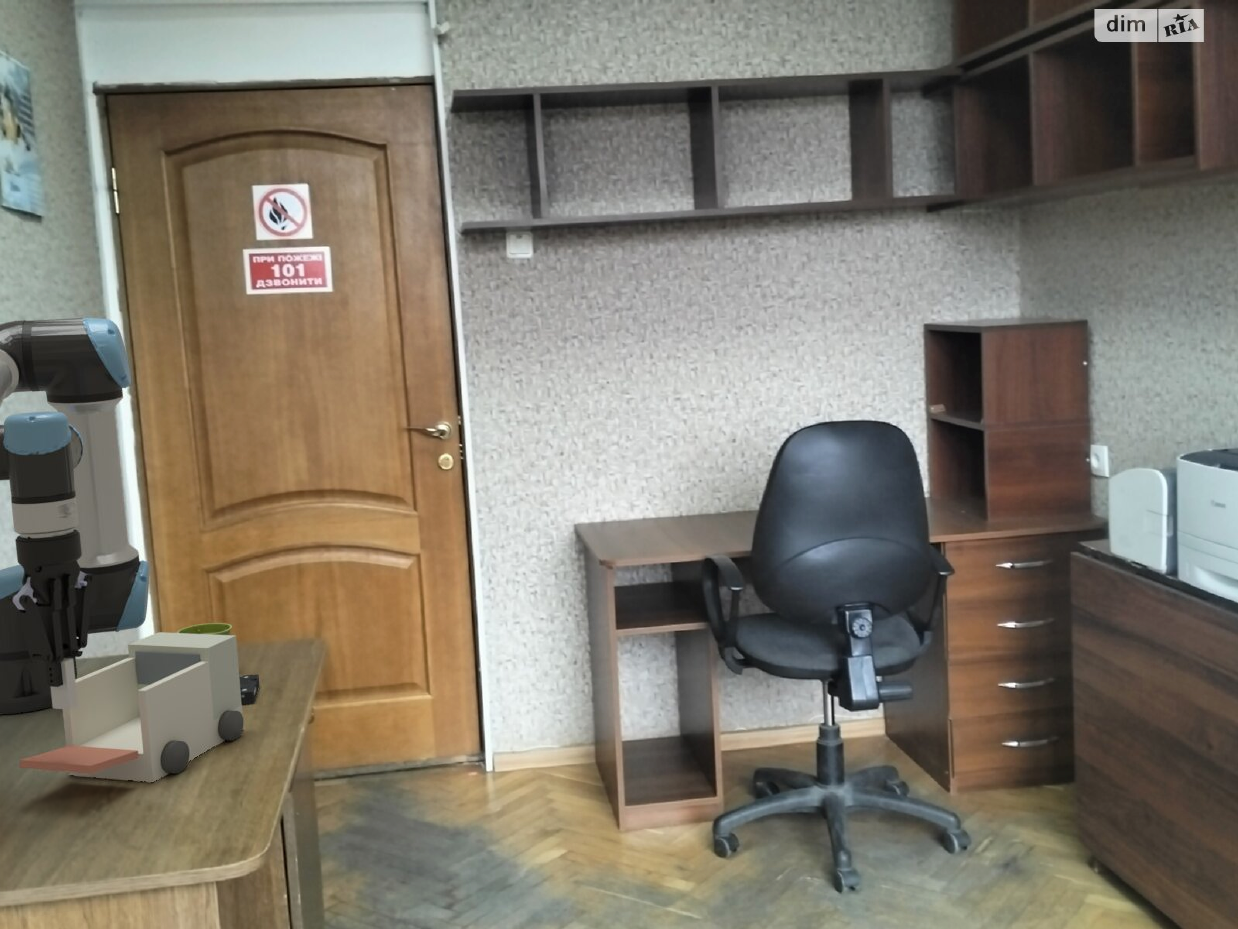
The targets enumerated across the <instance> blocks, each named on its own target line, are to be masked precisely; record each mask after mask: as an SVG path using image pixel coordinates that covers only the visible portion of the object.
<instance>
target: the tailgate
mask: <svg viewBox="0 0 1238 929" xmlns="http://www.w3.org/2000/svg"><path fill="white" fill-rule="evenodd" d="M137 758H138V751H136V750H123V749H110V748H97V747H84V746H71V745H70V746H67V747H66V746H63V747H59V748H57V749H52V750H50V751H47V752H42V753H39V754H36V755H33V756H28V757H24V758H21V759H19V768H20V769H31V770H43V771H44V770H45V771H54V772H55V771H56V772H65V773H67V772H68V773H69V772H77V773H89V774H91V773H94V772H97V771H100V770H103V769H106V768H109V767H112V766H115V765H118V764H121V763H124V762H127V761H131V760H134V759H137Z"/></svg>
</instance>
